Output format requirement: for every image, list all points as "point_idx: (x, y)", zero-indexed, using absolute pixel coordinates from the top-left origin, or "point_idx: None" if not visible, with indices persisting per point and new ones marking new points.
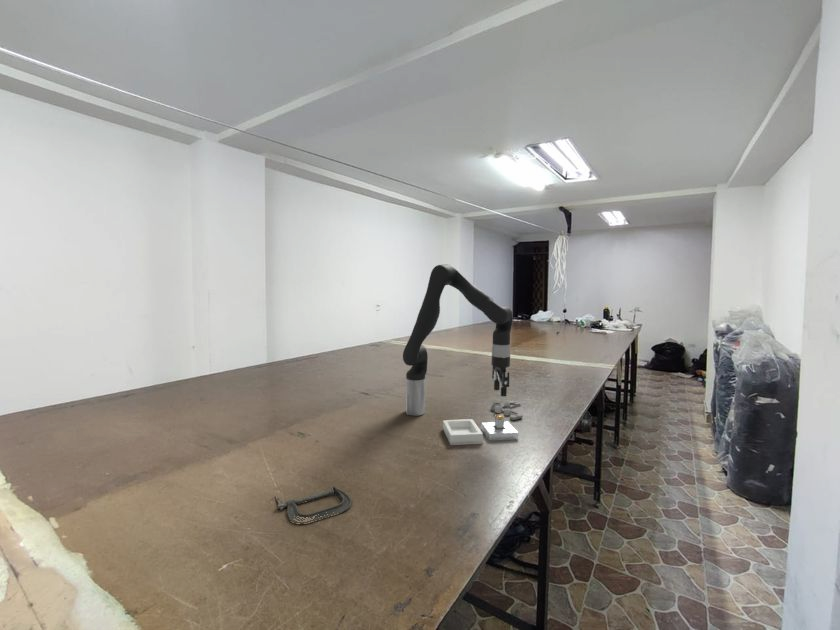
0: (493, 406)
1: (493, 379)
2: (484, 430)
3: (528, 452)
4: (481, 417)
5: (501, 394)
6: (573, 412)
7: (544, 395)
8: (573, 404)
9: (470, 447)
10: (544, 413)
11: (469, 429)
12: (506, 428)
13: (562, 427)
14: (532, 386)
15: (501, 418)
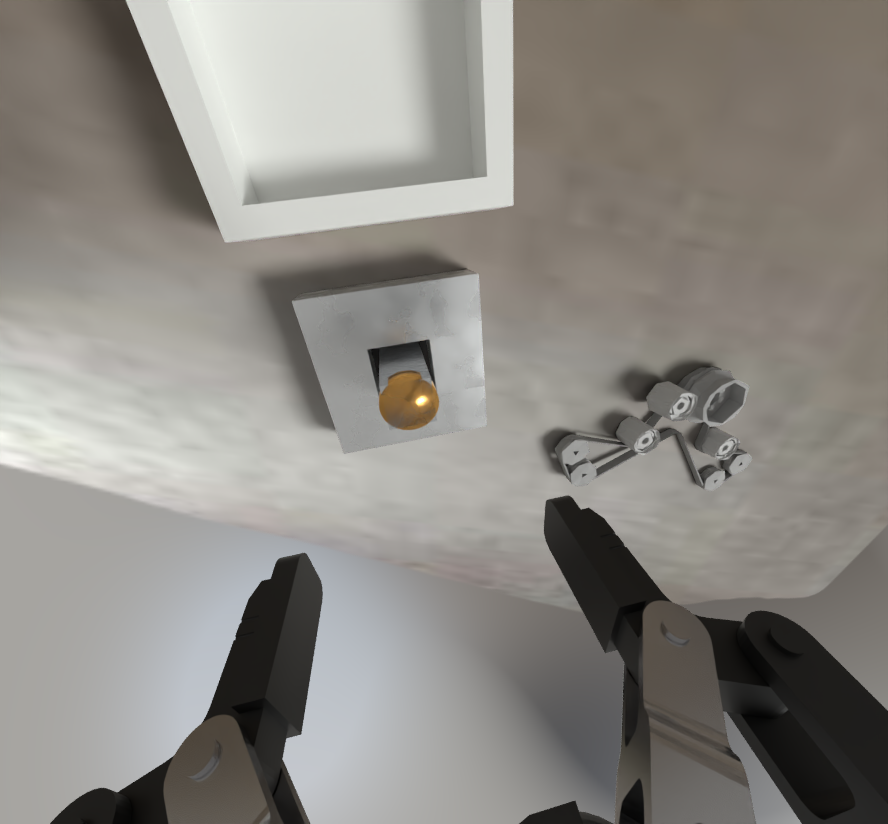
0: (711, 384)
1: (686, 631)
2: (405, 280)
3: (207, 453)
4: (631, 300)
5: (273, 577)
6: None
7: (744, 557)
8: None
9: (151, 127)
10: None
11: (432, 173)
12: None
13: (472, 572)
14: (836, 536)
15: (380, 409)
